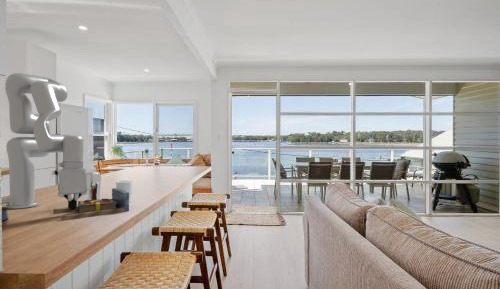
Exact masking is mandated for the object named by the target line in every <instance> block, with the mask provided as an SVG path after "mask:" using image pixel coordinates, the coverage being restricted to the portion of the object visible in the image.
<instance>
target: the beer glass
mask: <svg viewBox="0 0 500 289" xmlns="http://www.w3.org/2000/svg"><path fill="white" fill-rule="evenodd" d="M86 176H87V194H86V200H101V199H100V193H101V187H102V175H101V172H99V171H93V172H89V171H88V172H86Z"/></svg>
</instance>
